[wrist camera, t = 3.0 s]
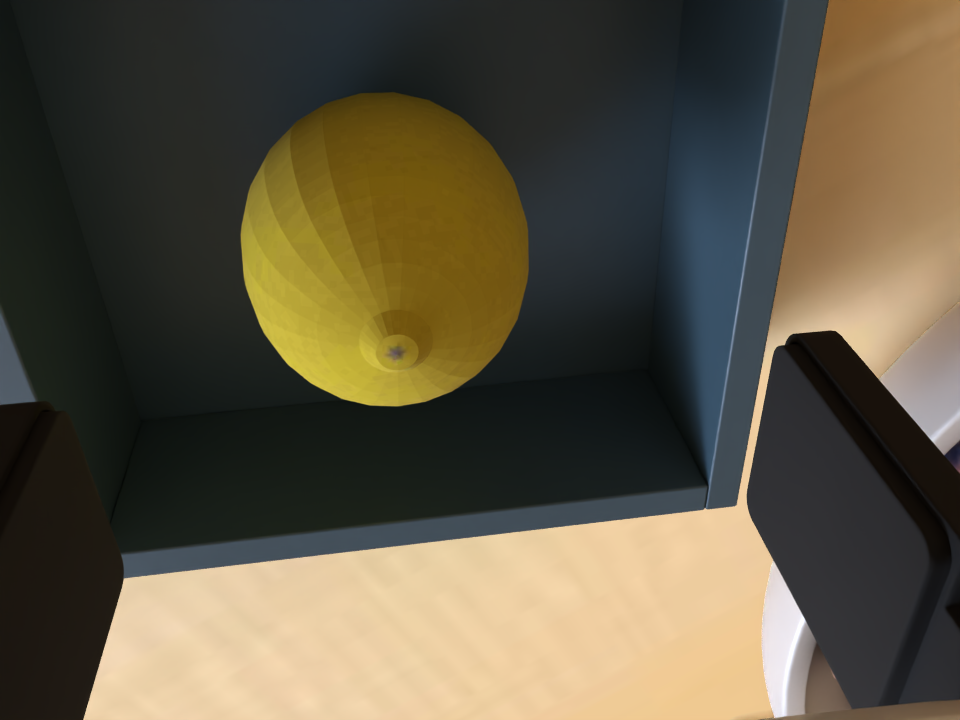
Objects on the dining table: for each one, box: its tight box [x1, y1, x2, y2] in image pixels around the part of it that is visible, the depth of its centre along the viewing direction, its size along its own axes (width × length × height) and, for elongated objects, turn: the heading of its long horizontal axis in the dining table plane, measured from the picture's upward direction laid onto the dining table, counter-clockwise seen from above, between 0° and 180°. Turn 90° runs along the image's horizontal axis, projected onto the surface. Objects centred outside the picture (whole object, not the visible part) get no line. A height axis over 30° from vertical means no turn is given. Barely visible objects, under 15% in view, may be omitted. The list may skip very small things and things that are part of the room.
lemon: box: [241, 92, 529, 406], centre depth 17 cm, size 6×6×8 cm
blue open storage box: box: [0, 0, 829, 578], centre depth 18 cm, size 16×15×5 cm
